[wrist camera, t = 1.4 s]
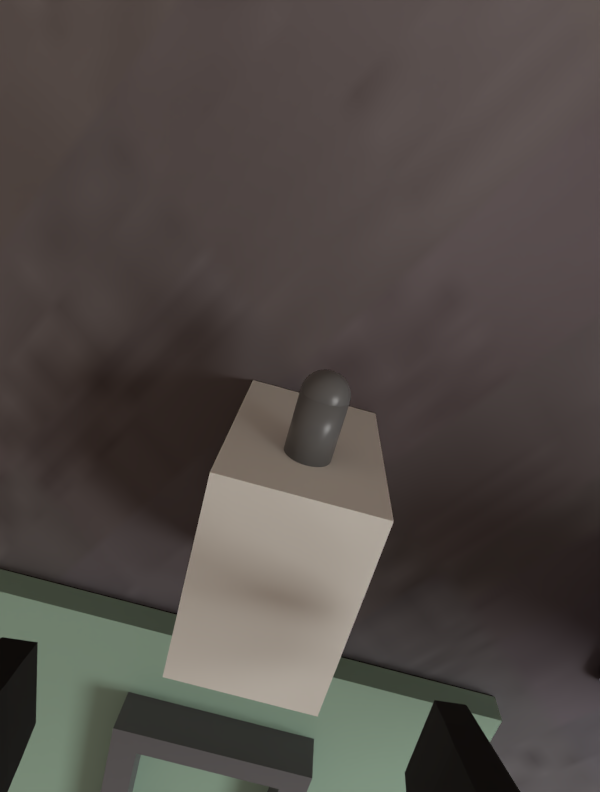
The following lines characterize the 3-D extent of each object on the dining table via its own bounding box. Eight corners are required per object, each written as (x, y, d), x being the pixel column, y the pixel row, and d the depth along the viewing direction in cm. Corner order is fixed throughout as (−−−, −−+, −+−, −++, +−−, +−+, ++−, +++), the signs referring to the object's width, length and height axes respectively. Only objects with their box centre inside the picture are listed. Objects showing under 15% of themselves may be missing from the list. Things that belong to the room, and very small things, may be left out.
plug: (397, 348, 16) (429, 430, 10) (316, 584, 19) (307, 743, 14) (269, 312, 16) (231, 375, 10) (209, 556, 19) (156, 705, 14)
